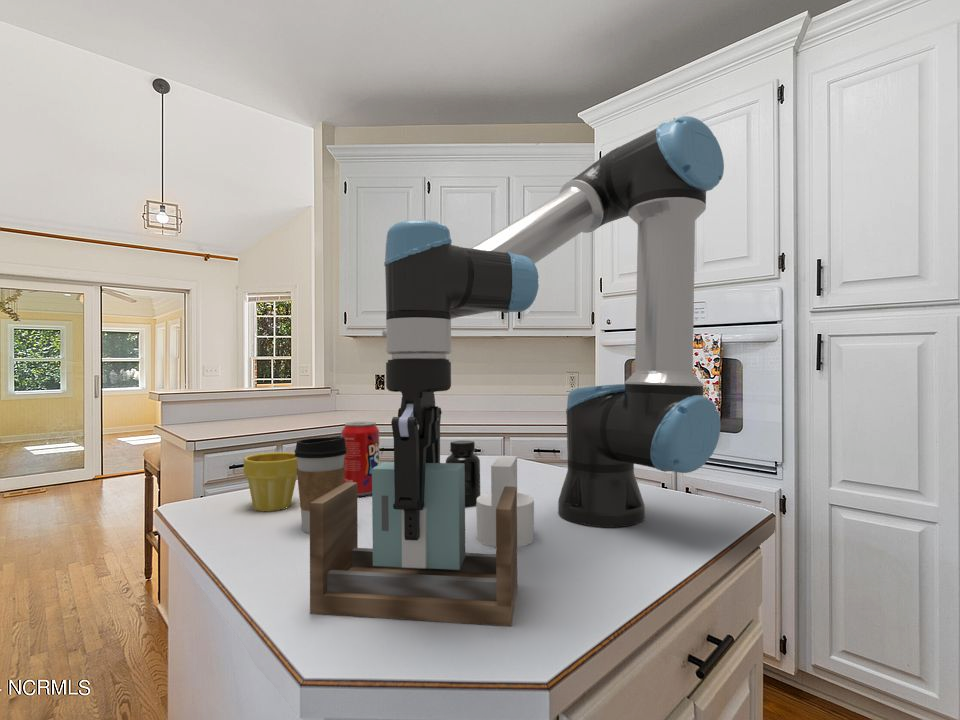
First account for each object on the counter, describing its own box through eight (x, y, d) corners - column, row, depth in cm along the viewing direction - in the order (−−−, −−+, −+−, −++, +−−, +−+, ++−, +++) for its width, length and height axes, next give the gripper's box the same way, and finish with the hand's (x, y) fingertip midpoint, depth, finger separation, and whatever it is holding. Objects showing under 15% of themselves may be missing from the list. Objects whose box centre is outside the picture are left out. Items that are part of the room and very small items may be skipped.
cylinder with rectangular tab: (531, 549, 74) (531, 467, 74) (471, 546, 76) (471, 465, 76) (535, 529, 83) (535, 456, 83) (481, 527, 85) (481, 455, 85)
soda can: (334, 493, 108) (334, 422, 108) (367, 486, 113) (367, 419, 113) (353, 500, 102) (352, 425, 102) (386, 493, 107) (386, 422, 108)
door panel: (465, 556, 60) (464, 463, 60) (459, 569, 56) (458, 470, 56) (384, 552, 61) (383, 462, 62) (372, 565, 57) (371, 468, 58)
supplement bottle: (487, 501, 101) (486, 440, 101) (467, 509, 95) (467, 445, 95) (458, 496, 104) (458, 438, 104) (438, 504, 98) (438, 442, 99)
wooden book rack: (517, 584, 62) (516, 486, 62) (511, 626, 52) (510, 509, 52) (346, 575, 65) (346, 482, 65) (310, 613, 55) (309, 503, 55)
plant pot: (312, 503, 100) (312, 453, 100) (271, 517, 91) (271, 462, 91) (274, 497, 104) (274, 450, 105) (231, 510, 95) (231, 458, 95)
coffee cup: (332, 537, 80) (332, 442, 80) (283, 534, 81) (283, 441, 81) (355, 521, 88) (355, 435, 88) (311, 518, 90) (311, 434, 90)
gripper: (407, 358, 68) (408, 533, 68) (360, 356, 51) (361, 589, 51) (462, 358, 67) (464, 535, 67) (433, 355, 50) (434, 593, 50)
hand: (419, 558), depth 59 cm, fingers closed on door panel, 4 cm apart
